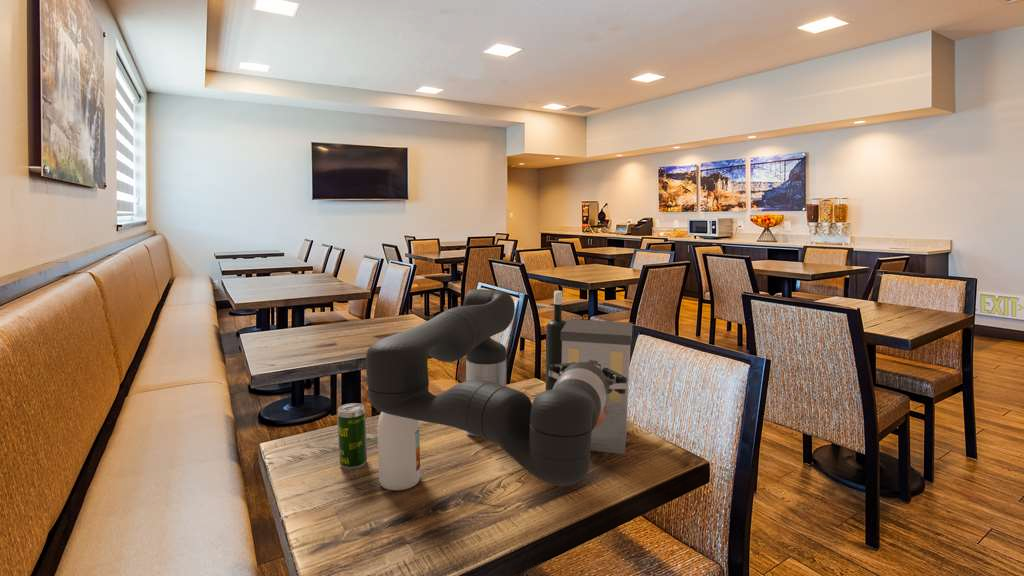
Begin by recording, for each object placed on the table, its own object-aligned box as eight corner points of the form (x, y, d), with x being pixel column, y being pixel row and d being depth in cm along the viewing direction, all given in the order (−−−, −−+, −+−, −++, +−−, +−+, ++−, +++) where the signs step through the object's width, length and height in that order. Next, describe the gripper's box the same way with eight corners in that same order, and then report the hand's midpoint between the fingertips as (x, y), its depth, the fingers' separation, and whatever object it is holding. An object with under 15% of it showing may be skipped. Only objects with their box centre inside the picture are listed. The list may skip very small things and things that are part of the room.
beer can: (357, 455, 114) (355, 400, 112) (372, 463, 110) (370, 407, 108) (334, 464, 110) (331, 408, 108) (349, 473, 106) (347, 415, 104)
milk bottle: (411, 494, 99) (408, 389, 96) (372, 489, 100) (368, 386, 97) (426, 473, 106) (424, 375, 103) (389, 469, 108) (386, 373, 105)
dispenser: (626, 455, 115) (631, 335, 110) (558, 447, 118) (560, 331, 114) (627, 431, 127) (632, 322, 123) (566, 424, 130) (568, 319, 126)
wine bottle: (568, 398, 148) (571, 289, 143) (564, 405, 142) (567, 293, 138) (547, 395, 149) (549, 288, 145) (543, 403, 144) (545, 292, 139)
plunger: (604, 428, 113) (604, 404, 112) (579, 425, 114) (579, 402, 113) (608, 404, 126) (609, 382, 125) (585, 402, 127) (586, 381, 126)
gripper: (629, 376, 75) (634, 351, 92) (537, 361, 79) (558, 339, 95) (623, 428, 76) (628, 393, 93) (532, 411, 79) (553, 380, 96)
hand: (592, 366), depth 94 cm, fingers closed
